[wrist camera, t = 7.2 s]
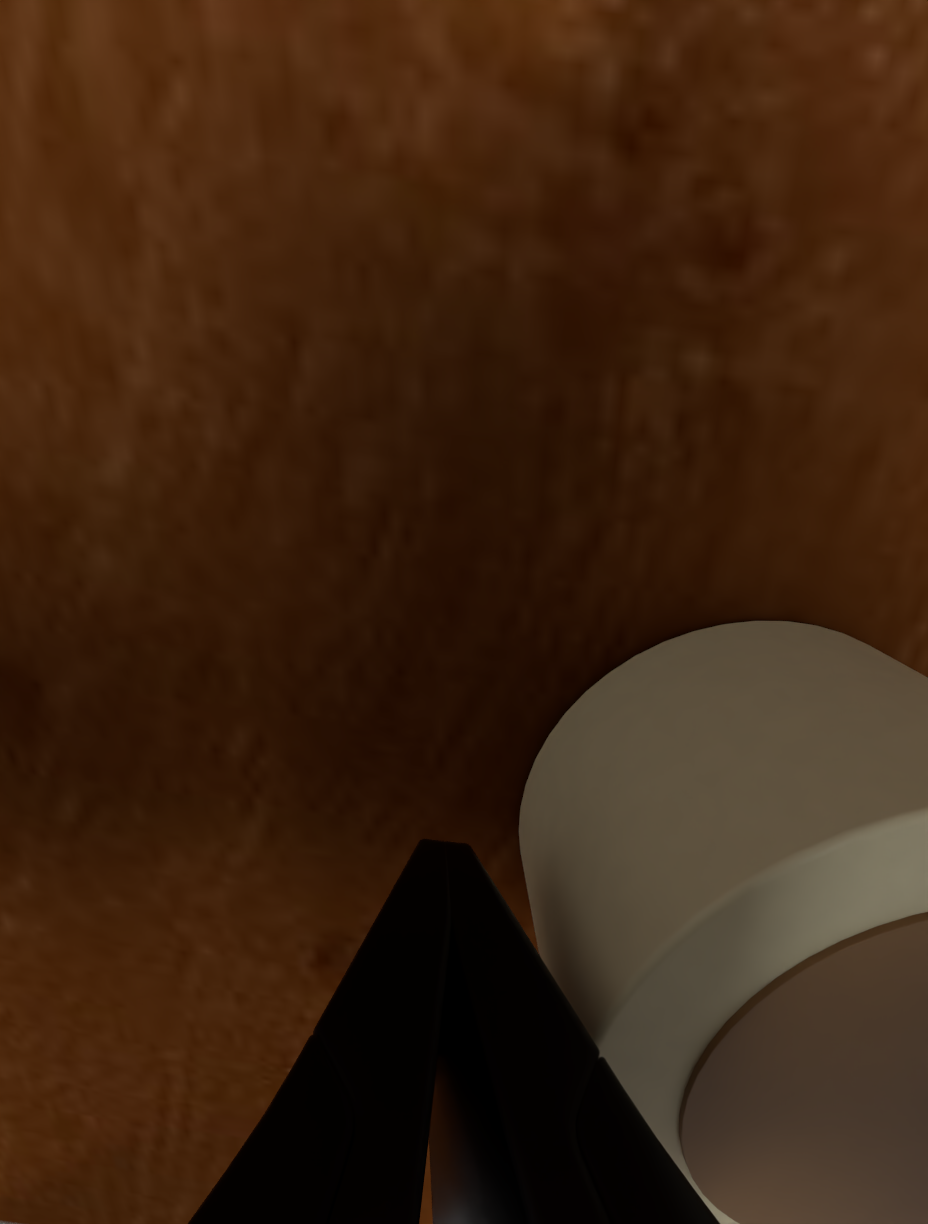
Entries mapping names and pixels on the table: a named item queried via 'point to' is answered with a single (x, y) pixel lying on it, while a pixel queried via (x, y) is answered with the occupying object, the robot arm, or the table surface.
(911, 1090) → the tape
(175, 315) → the table surface
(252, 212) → the table surface
